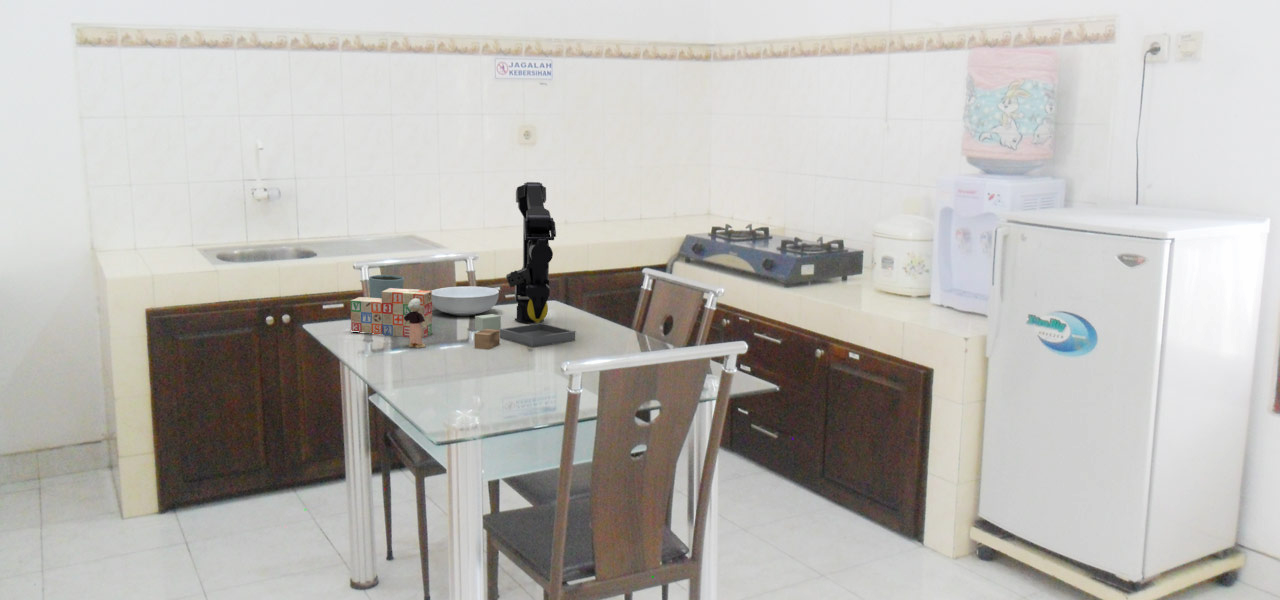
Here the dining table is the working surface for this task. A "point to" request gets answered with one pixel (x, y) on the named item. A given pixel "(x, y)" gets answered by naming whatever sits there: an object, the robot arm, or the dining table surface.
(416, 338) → the grandmother figurine
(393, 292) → the stack of blocks
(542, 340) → the charcoal tray
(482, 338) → the walnut block
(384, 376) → the dining table surface
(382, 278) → the blue-grey pot
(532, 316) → the lemon
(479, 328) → the sage block
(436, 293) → the serving bowl
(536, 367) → the dining table surface
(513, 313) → the dining table surface
